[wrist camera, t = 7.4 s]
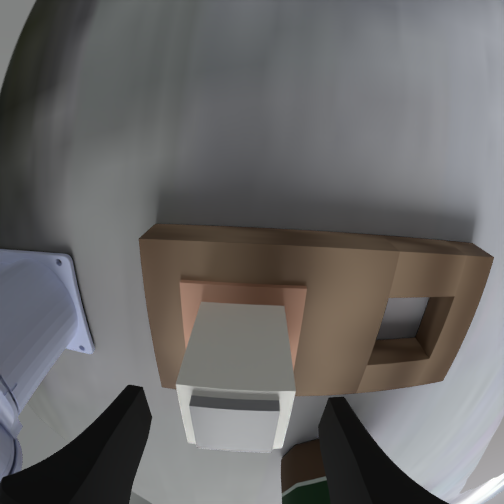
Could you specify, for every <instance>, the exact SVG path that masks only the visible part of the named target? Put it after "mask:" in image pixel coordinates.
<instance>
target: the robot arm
mask: <svg viewBox="0 0 504 504" xmlns="http://www.w3.org/2000/svg"><path fill="white" fill-rule="evenodd" d="M59 259H60V261H61V263H62V264H61V263H60V262H59ZM65 348H66V349H70V350H74V351H78V352H83V353H87V354H92V353H93V352H94V350H95V348H94V345H93V341H92V338H91V335H90V331H89V328H88V324H87V321H86V317H85V314H84V310H83V306H82V302H81V298H80V294H79V289H78V285H77V280H76V275H75V271H74V265H73V261H72V258H71V257H70V256H69V255H68V254H63V253H49V252H35V251H21V250H8V249H0V504H129V500H130V495H131V489H132V485H133V481H134V478H135V475H136V472H137V469H138V466H139V463H140V460H141V457H142V454H143V451H144V448H145V445H146V442H147V439H148V435H149V430H150V425H151V420H152V415H151V412H150V409H149V406H148V403H147V400H146V396H145V393H144V390H143V387H139V386H134V385H128V386H126V388H125V389H124V390H123V391H122V392H121V393H120V394H119V395H118V397H117V398H116V399H115V400H114V401H113V402H112V403H111V404H110V405H109V407H108V408H107V409H106V410H105V411H104V412H103V413H102V414H101V415H100V416H99V417H98V418H97V419H96V420H95V421H94V422H93V423H92V424H91V425H90V426H89V427H88V428H86V429H85V430H84V431H83V432H82V433H81V434H80V435H79V436H78V437H76V438H75V439H74V440H73V441H71V442H70V443H69V444H68V445H66V446H65V447H63V448H62V449H61V450H59V451H58V452H56V453H54V454H53V455H51V456H50V457H48V458H47V459H45V460H43V461H41V462H39V463H37V464H35V465H33V466H31V467H29V468H27V469H24V470H22V471H21V468H22V449H21V446H20V443H19V441H18V439H17V435H18V434H19V432H20V430H21V429H22V427H23V426H22V424H21V423H20V421H19V419H18V415H19V414H20V413H21V411H22V410H23V408H24V406H25V405H26V404H27V402H28V400H29V399H30V397H31V396H32V394H33V393H34V392H35V390H36V389H37V387H38V386H39V384H40V383H41V381H42V380H43V378H44V377H45V376H46V374H47V373H48V371H49V370H50V369H51V367H52V366H53V364H54V363H55V362H56V360H57V359H58V358H59V356H60V355H61V354H62V352H63V351H64V350H65ZM318 428H319V441H320V450H321V455H322V460H323V465H324V470H325V474H326V479H327V484H328V489H329V495H330V503H331V504H449V503H447V502H445V501H443V500H441V499H439V498H438V497H436V496H435V495H433V494H431V493H430V492H428V491H427V490H425V489H424V488H423V487H421V486H420V485H419V484H417V483H416V482H415V481H413V480H412V479H411V478H410V477H409V476H407V475H406V474H405V473H404V472H403V471H402V470H401V469H400V468H399V467H398V466H397V465H395V464H394V462H393V461H392V460H391V459H390V458H389V457H388V456H387V455H386V454H385V453H384V452H383V450H382V449H381V448H380V447H379V446H378V444H377V443H376V442H375V441H374V439H373V438H372V437H371V435H370V434H369V433H368V431H367V430H366V429H365V427H364V426H363V425H362V423H361V422H360V420H359V419H358V417H357V416H356V414H355V413H354V411H353V410H352V408H351V407H350V405H349V404H348V402H347V400H346V399H345V398H344V397H333V398H328V401H327V404H326V407H325V410H324V413H323V415H322V418H321V421H320V424H319V426H318Z"/></svg>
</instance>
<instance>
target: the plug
mask: <svg viewBox="0 0 504 504" xmlns="http://www.w3.org/2000/svg"><path fill="white" fill-rule="evenodd" d="M176 389H177V394H178V399H179V404H180V409H181V414H182V418H183V423H184V428H185V432H186V436H187V441H188V443H193V444H196V446H197V448H201V449H211V450H222V451H236V452H265V453H272V449H277V448H282V447H283V443H284V439H285V435H286V431H287V427H288V423H289V419H290V415H291V410H292V406H293V402H294V397H295V393H296V388H295V380H294V373H293V365H292V358H291V350H290V343H289V336H288V329H287V322H286V315H285V308H284V306H275V305H251V304H231V303H215V302H201V304H200V307H199V310H198V313H197V316H196V319H195V322H194V326H193V329H192V332H191V335H190V338H189V342H188V345H187V348H186V351H185V355H184V358H183V361H182V365H181V368H180V371H179V375H178V378H177V381H176Z"/></svg>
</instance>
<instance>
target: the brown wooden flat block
mask: <svg viewBox="0 0 504 504" xmlns="http://www.w3.org/2000/svg"><path fill="white" fill-rule="evenodd" d="M139 246H140V256H141V266H142V274H143V283H144V290H145V298H146V304H147V311H148V317H149V324H150V329H151V335H152V341H153V346H154V351H155V356H156V361H157V366H158V371H159V376H160V380H161V385H162V387H164V388H171V389H176V381H177V378H178V375H179V371H180V368H181V365H182V361H183V358H184V355H185V351H186V348H187V345H188V342H189V338H190V335H191V332H192V329H193V326H194V322H195V319H196V316H197V313H198V310H199V307H200V304H201V302H215V303H231V304H251V305H275V306H284V308H285V315H286V322H287V329H288V336H289V343H290V350H291V358H292V365H293V373H294V380H295V388H296V393H295V396H321V395H340V394H354V393H365V392H375V391H383V390H391V389H399V388H406V387H412V386H418V385H424V384H430V383H435V382H440V381H443V380H444V378H445V376H446V374H447V372H448V370H449V368H450V367H451V365H452V363H453V361H454V359H455V357H456V355H457V353H458V351H459V349H460V347H461V344H462V342H463V340H464V338H465V336H466V333H467V331H468V329H469V327H470V324H471V322H472V319H473V317H474V315H475V312H476V309H477V307H478V304H479V302H480V299H481V296H482V293H483V291H484V288H485V285H486V282H487V279H488V276H489V273H490V269H491V266H492V263H493V259H494V257H493V256H491V255H490V254H488V253H487V252H485V251H484V250H482V249H481V248H479V247H478V246H476V245H474V244H473V243H466V242H456V241H445V240H434V239H422V238H410V237H398V236H385V235H371V234H357V233H342V232H327V231H310V230H293V229H274V228H254V227H232V226H207V225H178V224H155V225H153V226H152V227H151V228H150V229H149V230H148V231H147V232H146V233H145V234H144V235H142V236H141V237H140V238H139ZM408 297H430V298H429V301H428V304H427V307H426V310H425V313H424V316H423V318H422V321H421V324H420V327H419V329H418V332H417V334H416V337H414V338H402V339H386V340H376V338H377V335H378V332H379V329H380V325H381V322H382V319H383V316H384V312H385V309H386V305H387V302H388V298H408Z"/></svg>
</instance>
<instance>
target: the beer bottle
mask: <svg viewBox="0 0 504 504" xmlns="http://www.w3.org/2000/svg"><path fill="white" fill-rule="evenodd" d="M281 487H282V504H331V503H330V495H329V489H328V484H327V479H326V474H325V470H324V465H323V460H322V455H321V450H320V441H319V439H316V440H312V441H309V442H305V443H301V444H297V445H295V446H294V447H293V448H292V449H291V450H290V451H289V452H288V453H287V454H286V455H285V456H284V457H283V458H282V460H281Z"/></svg>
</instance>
